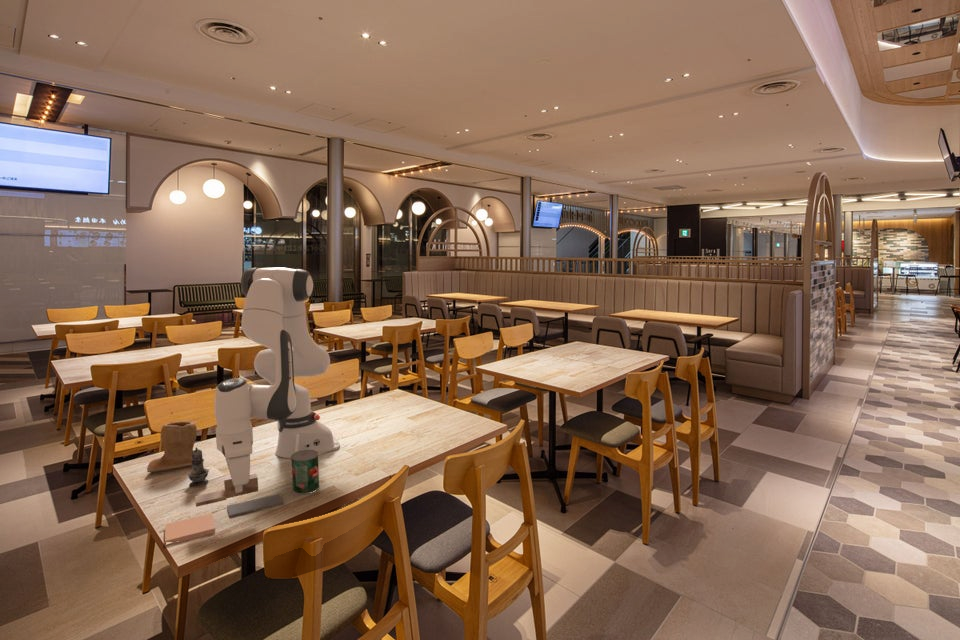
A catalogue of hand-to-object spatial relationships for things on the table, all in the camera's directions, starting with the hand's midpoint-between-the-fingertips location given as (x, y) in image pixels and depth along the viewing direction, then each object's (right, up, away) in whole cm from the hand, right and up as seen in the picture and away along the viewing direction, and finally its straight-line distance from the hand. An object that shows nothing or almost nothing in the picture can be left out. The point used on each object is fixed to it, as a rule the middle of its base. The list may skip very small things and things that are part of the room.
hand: (237, 488), depth 133 cm
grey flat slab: (+1, -8, +7) cm, 11 cm away
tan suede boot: (-38, -4, +34) cm, 51 cm away
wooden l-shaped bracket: (-2, -2, -1) cm, 3 cm away
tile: (-5, -9, -2) cm, 10 cm away
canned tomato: (+12, -7, +18) cm, 23 cm away
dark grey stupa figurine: (-23, -6, +21) cm, 31 cm away
